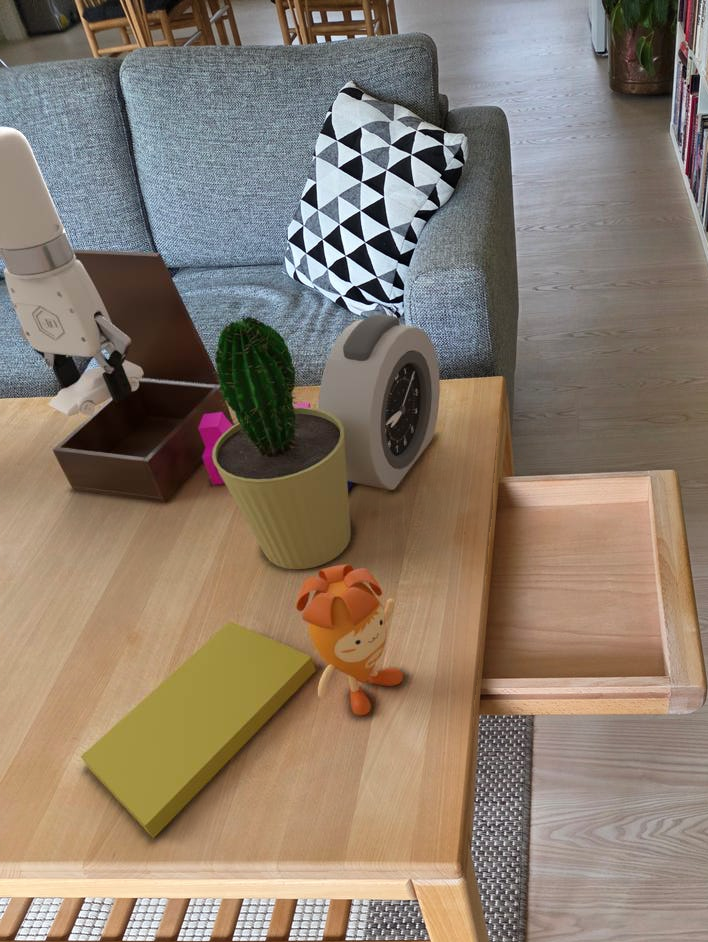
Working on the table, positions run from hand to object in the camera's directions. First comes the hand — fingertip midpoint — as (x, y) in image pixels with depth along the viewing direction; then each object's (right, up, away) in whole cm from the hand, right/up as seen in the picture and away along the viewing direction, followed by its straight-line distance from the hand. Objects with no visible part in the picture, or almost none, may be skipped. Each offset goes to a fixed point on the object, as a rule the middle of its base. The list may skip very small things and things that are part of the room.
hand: (98, 392), depth 112 cm
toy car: (0, -1, +1) cm, 1 cm away
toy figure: (+37, -37, -19) cm, 55 cm away
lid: (+2, +12, +9) cm, 16 cm away
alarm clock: (+36, -6, +11) cm, 38 cm away
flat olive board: (+20, -41, -21) cm, 50 cm away
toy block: (+19, -7, +12) cm, 24 cm away
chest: (+1, -5, +17) cm, 17 cm away
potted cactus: (+27, -19, 0) cm, 33 cm away
